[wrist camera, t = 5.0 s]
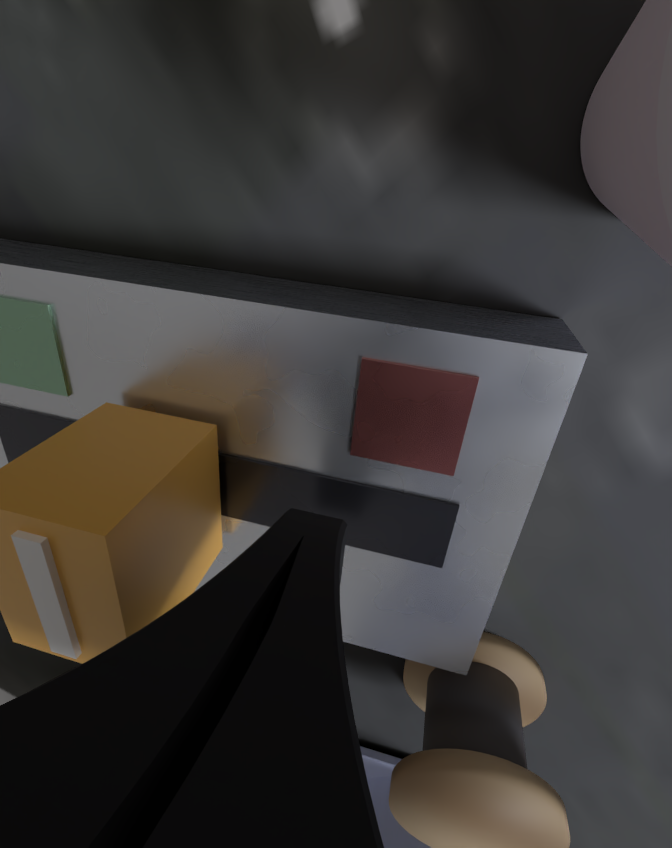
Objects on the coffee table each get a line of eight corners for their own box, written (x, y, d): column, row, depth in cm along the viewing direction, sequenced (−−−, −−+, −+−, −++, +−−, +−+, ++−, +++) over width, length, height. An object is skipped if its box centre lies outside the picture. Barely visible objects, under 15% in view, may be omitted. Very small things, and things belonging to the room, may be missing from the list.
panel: (465, 607, 15) (466, 678, 13) (58, 504, 18) (2, 549, 16) (562, 319, 11) (589, 355, 8) (-14, 236, 13) (-110, 247, 11)
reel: (521, 730, 18) (538, 886, 14) (395, 694, 19) (378, 831, 15) (563, 651, 15) (598, 812, 12) (416, 613, 16) (402, 751, 12)
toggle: (222, 547, 13) (131, 687, 9) (128, 523, 13) (7, 647, 10) (216, 424, 11) (98, 542, 7) (106, 402, 11) (-54, 502, 8)
